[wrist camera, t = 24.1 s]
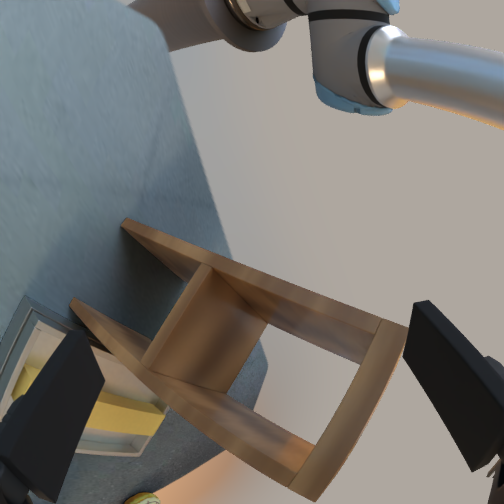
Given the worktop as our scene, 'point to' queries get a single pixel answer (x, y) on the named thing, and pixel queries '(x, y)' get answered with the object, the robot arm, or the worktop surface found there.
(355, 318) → the shelf
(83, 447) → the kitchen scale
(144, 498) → the decorated donut
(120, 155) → the worktop surface
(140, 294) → the worktop surface
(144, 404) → the block
